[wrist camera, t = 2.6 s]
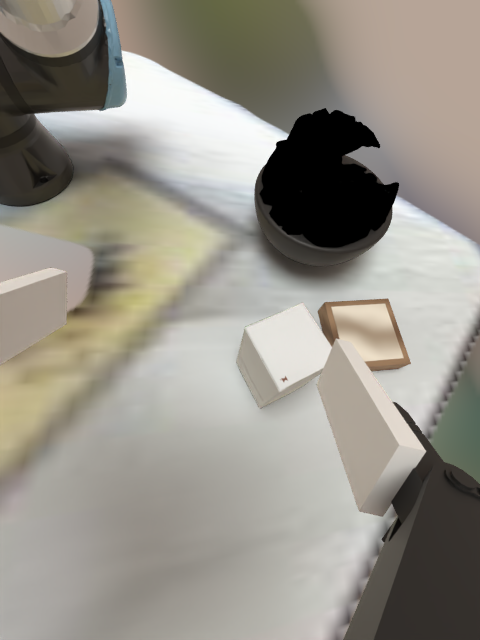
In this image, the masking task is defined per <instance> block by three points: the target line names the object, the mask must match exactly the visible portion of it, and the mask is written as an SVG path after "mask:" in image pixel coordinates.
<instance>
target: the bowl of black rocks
mask: <svg viewBox="0 0 480 640" xmlns="http://www.w3.org/2000/svg"><path fill="white" fill-rule="evenodd" d="M361 146H365V147H371V146H373V147H378V148H380V144H379V142H378V141H377V139H376V137H375V135H374V133H373V132H372V131H371V130H370V129H369V128H368V127H367V126H365V125H363V124H362V123H361V122H356V121H355V117H354V116H350V115H347V114H344V113H343V112H341V111H339V110H334V111H333V112H331V114H329V113H328V111H327V110H326V108H324V109H322V110H319V111H315V112H314V113H313V114H306V115H302V116H301V117H299V118H298V119H297V120H296V122H295V124H294V126H293V128H292V130H291V132H290V134H289V136H288V138H287V140H282V141H279V142H277V143H276V149H275V151H274V152H273V153H272V155H271V156H270V158H269V160H268V162H267V164H266V165H265V166H264V167H263V168H262V170H261V171H260V173H259V175H258V177H257V180H256V184H255V208H256V213H257V217H258V221H259V223H260V226H261V228H262V230H263V232H264V234H265V236H266V237H267V239H268V240H269V241H270V243H271V244H272V245H273V246H274V247H275V248H276V249H277V250H278V251H280V252H281V253H282V254H283V255H285V256H287V257H288V258H290V259H292V260H294V261H297V262H299V263H303V264H307V265H313V266H329V265H335V264H340V263H343V262H346V261H349V260H351V259H353V258H355V257H357V256H359V255H361V254H363V253H364V252H366V251H367V250H369V249H370V248H371V247H373V246H374V245H375V244H376V243H377V242H378V241H379V240H380V239H381V238H382V237H383V236H384V234H385V233H386V231H387V230H388V228H389V225H390V223H391V219H392V205H393V203H394V201H395V198H396V195H397V192H398V188H399V183H397V182H395V183H392V184H389V185H384V184H383V183H382V182H381V181H380V180H379V178H378V177H377V176H376V175H375V174H374V173H373V172H371V170H369V169H368V168H367V167H365V166H364V165H363V164H361V163H359V162H358V161H356V160H354V159H352V158H350V157H348V156H345V154H348V153H350V152H353V151H355V150H357V149H359V148H360V147H361Z"/></svg>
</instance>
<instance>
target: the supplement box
mask: <svg viewBox="0 0 480 640" xmlns="http://www.w3.org/2000/svg"><path fill="white" fill-rule="evenodd" d="M331 349H332V346H331V345H330V343H329V342H328V340H327V339H326V337H325V336H324V334H323V332H322V331H321V329H320V328H319V326H318V325H317V323H316V322H315V320H314V319H313V317H312V316H311V314H310V312H309V311H308V309H307V308H306V306H305V305H304V303H301V304H298V305H296V306H294V307H292V308H289V309H287V310H285V311H282V312H280V313H277V314H275V315H273V316H270V317H268V318H265V319H263V320H260V321H258V322H255V323H253V324H251V325H248V326H246V327H245V329H244V333H243V337H242V341H241V345H240V349H239V354H238V357H237V362H236V363H237V365H238V367H239V369H240V371H241V373H242V375H243V377H244V379H245V381H246V383H247V385H248V387H249V389H250V391H251V393H252V395H253V397H254V399H255V401H256V403H257V405H258V407H259V408H262V407H264V406H266V405H268V404H270V403H272V402H274V401H276V400H278V399H280V398H282V397H284V396H286V395H288V394H290V393H291V392H293V391H295V390H297V389H299V388H300V387H302V386H304V385H305V384H306V383H308V382H309V381H311V380H312V379H313V378H315V377H316V376H318V375H319V374H321V373H322V371H323V368H324V366H325V363H326V361H327V359H328V356H329V354H330V351H331Z"/></svg>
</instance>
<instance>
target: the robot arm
mask: <svg viewBox="0 0 480 640" xmlns="http://www.w3.org/2000/svg"><path fill="white" fill-rule="evenodd" d="M126 97H127V89H126V79H125V71H124V65H123V61H122V53H121V45H120V39H119V34H118V28H117V23H116V18H115V14H114V9H113V5H112V2H111V0H0V203H1V204H6V205H13V206H24V205H31V204H36V203H40V202H43V201H45V200H48V199H50V198H52V197H54V196H55V195H57V194H58V193H60V192H61V191H62V190H63V189H64V188H65V187H66V186H67V185H68V184H69V182H70V180H71V178H72V175H73V165H72V162H71V160H70V158H69V156H68V154H67V152H66V150H65V149H64V148H63V146H62V145H61V144H60V143H59V142H58V141H57V140H56V139H55V138H54V137H53V136H52V134H51V133H50V132H49V131H48V130H47V129H46V128H45V127H44V126H43V125H42V124H41V123H40V122H39V121H38V119H37V118H36V116H35V113H50V112H65V111H86V110H100V111H104V110H106V109H108V108H115V107H120V106H122V105H123V104H124V103H125V101H126ZM66 318H67V272H66V271H62V270H59V269H55V268H51V267H50V268H47V269H44V270H40V271H37V272H34V273H30V274H27V275H23V276H20V277H17V278H13V279H10V280H7V281H3V282H0V365H1V364H3V363H4V362H6V361H8V360H9V359H11V358H13V357H14V356H16V355H17V354H19V353H21V352H22V351H24V350H25V349H27V348H29V347H30V346H32V345H33V344H35V343H37V342H38V341H40V340H42V339H43V338H45V337H46V336H48V335H50V334H51V333H53V332H54V331H56V330H58V329H59V328H61V327H63V326H64V325H66ZM317 387H318V390H319V393H320V396H321V399H322V402H323V405H324V408H325V411H326V414H327V417H328V420H329V423H330V426H331V429H332V432H333V435H334V438H335V441H336V444H337V447H338V450H339V453H340V456H341V459H342V462H343V465H344V468H345V471H346V474H347V477H348V480H349V483H350V486H351V489H352V492H353V495H354V498H355V501H356V504H357V507H358V510H359V511H360V512H364V513H369V514H373V515H378V516H382V517H383V516H384V514H385V513H386V511H387V510H388V508H389V507H390V505H391V504H393V507H394V509H395V511H396V513H397V515H398V517H397V518H396V520H395V521H394V522H393V524H392V525H391V527H390V528H389V530H388V531H387V533H386V534H385V535H384V537H383V538H382V541H383V542H385V543H384V545H383V547H382V550H381V552H380V555H379V557H378V559H377V562H376V564H375V566H374V569H373V571H372V573H371V576H370V578H369V581H368V583H367V585H366V588H365V590H364V592H363V595H362V597H361V599H360V602H359V604H358V606H357V609H356V611H355V614H354V616H353V618H352V621H351V623H350V625H349V628H348V630H347V632H346V635H345V637H344V639H343V640H480V484H479V483H478V482H477V481H476V480H474V478H473V477H471V476H470V475H468V474H467V473H465V472H464V471H463V470H461V469H459V468H458V467H456V466H454V465H451V464H448V463H445V462H443V460H442V459H441V457H440V456H439V455H438V453H437V452H436V451H435V449H434V448H433V447H432V445H431V444H430V442H429V441H428V440H427V438H426V437H425V435H424V434H422V431H421V430H420V429H419V427H418V426H417V425H415V424H416V423H415V422H414V420H413V419H412V418H411V416H410V415H409V414H408V412H406V411H405V410H404V409H403V408H402V407H401V406H400V405H398V404H397V403H396V402H392V401H391V399H390V398H389V397H388V395H387V394H386V392H385V391H384V389H383V388H382V386H381V385H380V384H379V382H378V381H377V379H376V378H375V376H374V375H373V373H372V372H371V370H370V369H369V368H368V366H367V365H366V363H365V362H364V360H363V359H362V357H361V356H360V355H359V353H358V352H357V350H356V349H355V347H354V346H353V344H352V343H351V342H348V341H344V340H340V339H335V342H334V344H333V346H332V349H331V351H330V354H329V356H328V359H327V361H326V363H325V366H324V368H323V371H322V373H321V375H320V378H319V380H318V383H317Z"/></svg>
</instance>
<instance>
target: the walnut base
mask: <svg viewBox="0 0 480 640" xmlns="http://www.w3.org/2000/svg"><path fill="white" fill-rule="evenodd" d="M318 314H319V318H320V322H321V327H322V331H323V334H324V336H325V337H326V339H327V340H328V342H329V343H330V345H331V346H333V344H334V342H335V339H340V340H344V341H348V342H351V343H352V344H353V346H354V347H355V349H356V350H357V352H358V353H359V355H360V356H361V357H362V359H363V360H364V362H365V363H366V365H367V366H368V368H369V369H370V370H371V371H379V370H390V369H399V368H401V367H403V366H406V365H408V364H411V362H410V360H409V357H408V354H407V351H406V348H405V345H404V342H403V340H402V337H401V334H400V331H399V328H398V325H397V322H396V320H395V317H394V314H393V311H392V308H391V305H390V302H389V300H388V299H375V300H358V301H340V302H325V303H324V304H323V305H322V307H321V308H320V309H319V310H318Z"/></svg>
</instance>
